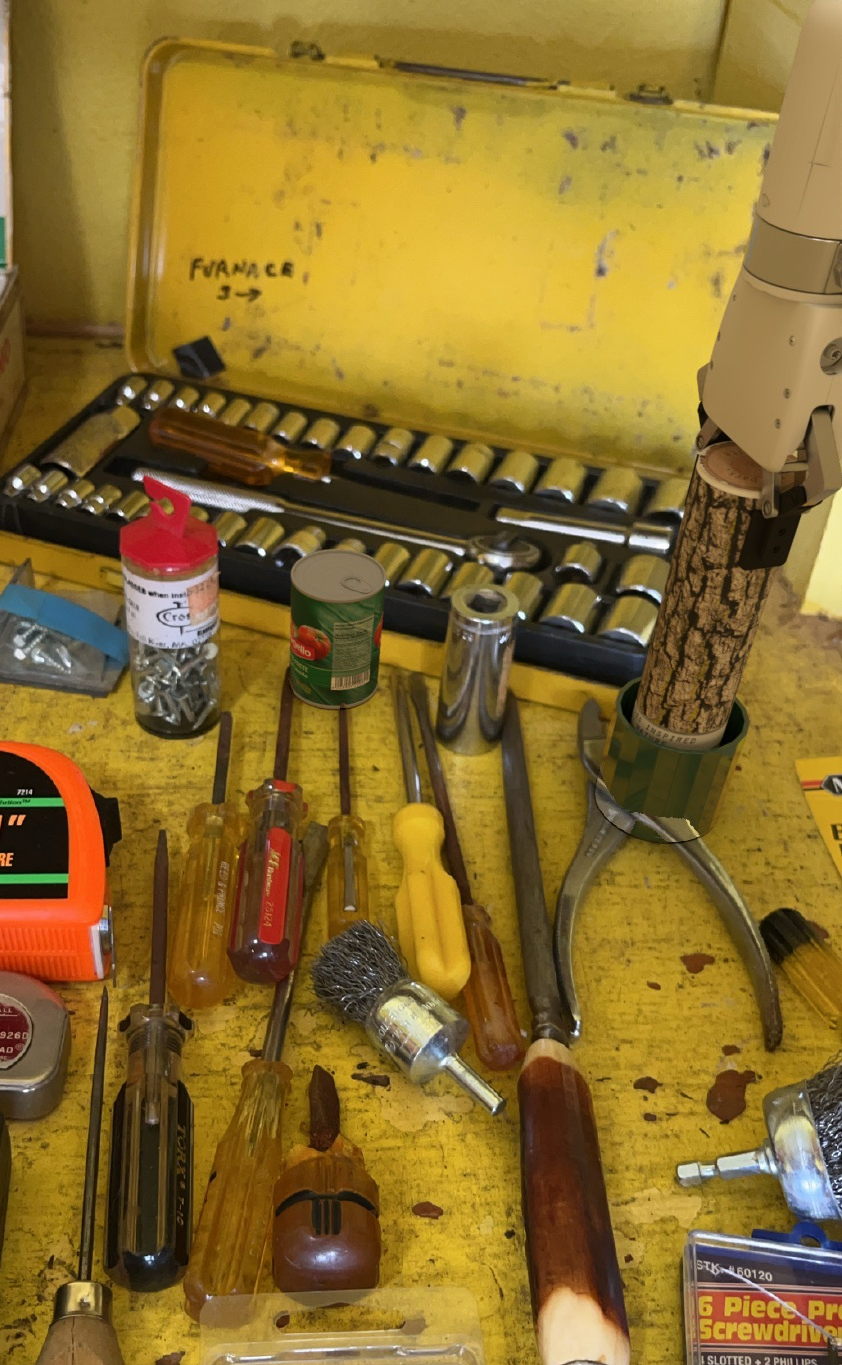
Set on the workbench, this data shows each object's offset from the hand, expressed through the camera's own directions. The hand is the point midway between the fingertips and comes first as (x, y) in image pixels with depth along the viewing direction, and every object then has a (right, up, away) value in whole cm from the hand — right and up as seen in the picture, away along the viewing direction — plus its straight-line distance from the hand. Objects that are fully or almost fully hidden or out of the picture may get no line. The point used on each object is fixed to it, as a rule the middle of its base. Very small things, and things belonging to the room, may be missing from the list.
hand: (733, 534), depth 83 cm
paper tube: (0, -14, +14) cm, 20 cm away
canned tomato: (-26, -6, +27) cm, 38 cm away
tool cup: (0, -17, +17) cm, 24 cm away
